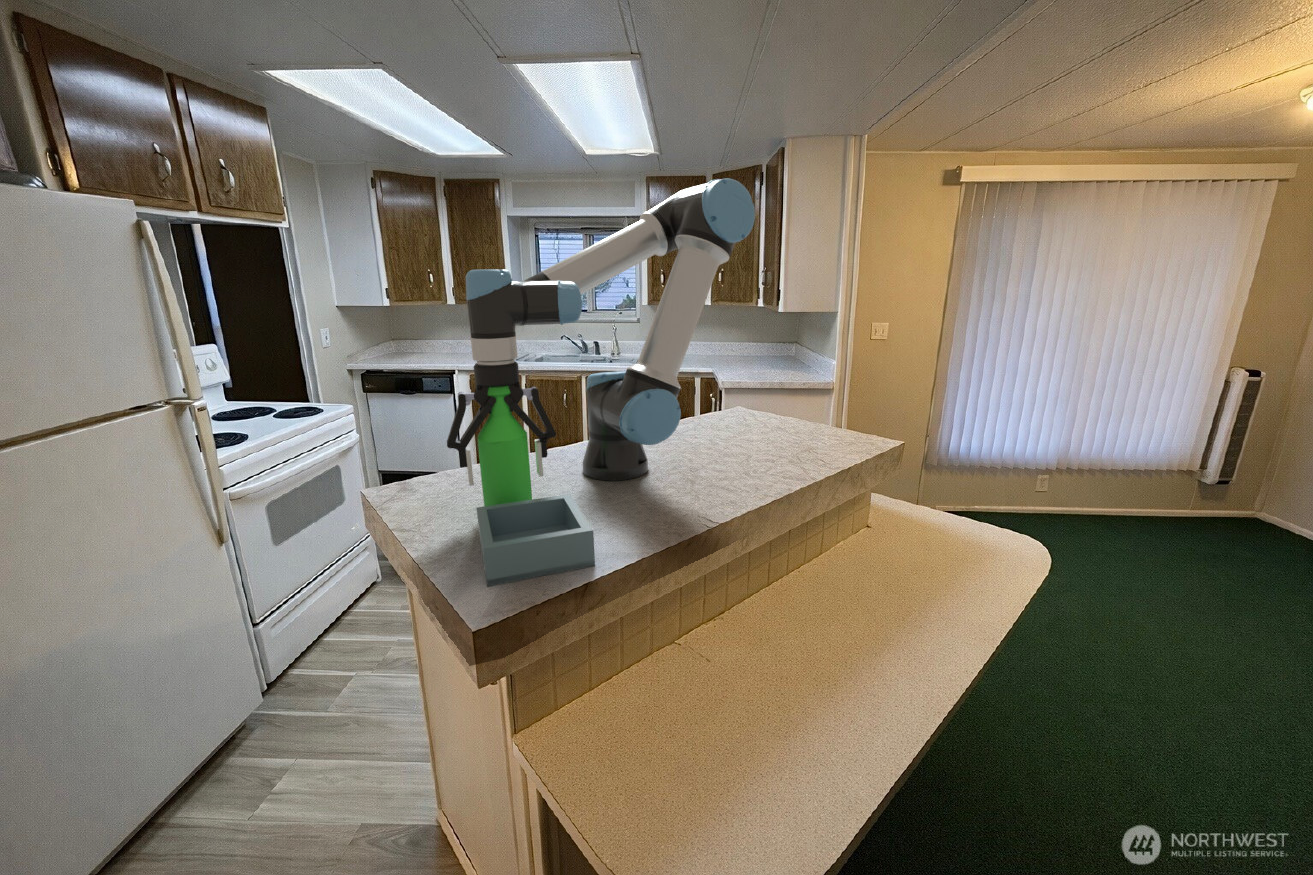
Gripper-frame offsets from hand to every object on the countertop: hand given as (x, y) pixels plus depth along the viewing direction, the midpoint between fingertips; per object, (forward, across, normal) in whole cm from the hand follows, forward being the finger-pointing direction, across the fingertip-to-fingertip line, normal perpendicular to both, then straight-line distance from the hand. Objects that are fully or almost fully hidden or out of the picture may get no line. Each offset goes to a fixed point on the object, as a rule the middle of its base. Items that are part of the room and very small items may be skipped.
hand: (506, 478), depth 102 cm
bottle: (+7, 0, 0) cm, 7 cm away
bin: (+7, -2, +17) cm, 19 cm away
